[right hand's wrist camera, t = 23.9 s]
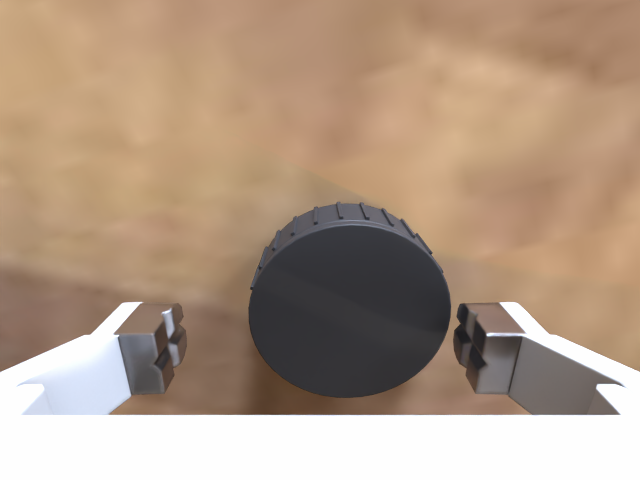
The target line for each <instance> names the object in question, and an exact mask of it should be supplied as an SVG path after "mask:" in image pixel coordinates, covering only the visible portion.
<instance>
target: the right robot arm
mask: <svg viewBox="0 0 640 480" xmlns="http://www.w3.org/2000/svg"><path fill="white" fill-rule="evenodd" d="M182 318H183V312H182V307H181V306H180V304H179V303H145V302H144V303H142V302H127V303H122V304H121V305H120V306H119V307H118V308H117V309H116V310H115V311H114V312H113V313H112V314H111V315H110V316H109V317H108V318H107V319H106V320H105V321H104V322H103V323H102V324H101V325H100V326H99V327H98V328H97V329H96V330H95V331H94V332H93V333H92V334H91V335H84V336H82V337H79V338H77V339H75V340H72V341H70V342H68V343H66V344H63V345H61V346H59V347H57V348H54V349H52V350H50V351H47V352H45V353H43V354H41V355H38V356H36V357H34V358H32V359H29V360H27V361H25V362H22V363H20V364H18V365H16V366H13V367H11V368H9V369H7V370H4V371H2V372H0V480H640V372H638V371H636V370H633V369H631V368H629V367H626V366H624V365H622V364H620V363H617V362H615V361H613V360H611V359H608V358H606V357H604V356H602V355H599V354H597V353H595V352H593V351H590V350H588V349H586V348H583V347H581V346H579V345H577V344H574V343H572V342H570V341H568V340H565V339H563V338H561V337H559V336H556V335H549V334H548V333H547V332H546V331H545V330H544V329H543V328H542V327H541V326H540V325H539V324H538V323H537V322H536V321H535V320H534V319H533V318H532V317H531V316H530V315H529V314H528V313H527V312H526V311H525V310H524V309H523V308H522V307H521V306H520V305H519V304H518V303H515V302H503V303H464V304H460V305H459V308H458V311H457V318H458V320H459V322H460V323H461V324H460V325H459V326H458V327H457V328H456V329H455V330H454V338H453V344H454V352H455V355H456V358H457V360H458V362H459V364H461V365H462V366H464V367H465V368H467V370H466V377H467V379H468V381H469V383H470V384H471V386H472V388H473V390H474V392H475V394H503V395H509V397H510V398H512V399H513V400H514V401H515V402H517V403H518V404H519V405H520V406H522V407H523V408H524V409H526V410H527V411H528V412H529V413H531V414H532V415H108V414H109V413H111V412H112V411H113V410H115V409H116V408H117V407H118V406H120V405H121V404H122V403H124V402H125V401H126V400H127V399H129V398H130V397H131V395H136V394H165V392H166V390H167V388H168V386H169V385H170V383H171V381H172V379H173V377H174V370H173V368H175V367H176V366H178V365H180V364H181V362H182V360H183V358H184V356H185V351H186V347H187V336H186V330H185V329H184V328H183V327H182V326H181V325H180V324H179V323H180V322H181V320H182Z"/></svg>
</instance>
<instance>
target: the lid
mask: <svg viewBox="0 0 640 480" xmlns="http://www.w3.org/2000/svg"><path fill="white" fill-rule="evenodd" d="M431 254H432V252H431V250H430V249H429V248H428V246H427V245H426V244H425V242H424V241H423V240H422V238H421V237H420V236H419V235H418V233H416V234H414V233H413V232H412V230H411V229H410V228H409V226H408V225H407V224H406V222H405V221H404V220H403V219H401V220H399V219H397V218H396V217H394V216H393V215H391V214H389V213H387V211H386V210H385V209H383V208H382V210H380V209H377V208H374V207H370V206H365V205H364V204H363V203H360V204H340V202H337V204H335V205H329V206H324V207H320V208H318V207H314V210H312V211H309V212H307V213H305V214H303V215H301V216H299V217H298V218H297V216H295V217H294V218H293V221H292V222H290V223H289V224H288V225H287V226H285V227H284V228H283V229H282V230H281V231H280V230H278V231H277V233H276V236H275V238H274V239H273V241H272V242H271V244H270V245H269V247H265V249H264V252H263V255H262V258H261V261H260V264H259V265H258V268H257V270H256V273H255V276H254V279H253V282H252V285H251V288H250V289H251V290H252V294H251V297H250V303H249V324H250V330H251V334H252V337H253V340H254V343H255V345H256V347H257V349H258V351H259V353H260V354H261V356H262V357H263V358H264V360H265V361H266V363H267V364H268V365H269V366H270V367H271V368H272V369H273V370H274V371H275V372H276V373H277V374H279V375H280V376H281V377H282V378H284V379H285V380H287V381H288V382H290V383H291V384H293V385H295V386H297V387H299V388H301V389H303V390H306V391H309V392H312V393H315V394H319V395H324V396H330V397H339V398H353V397H363V396H369V395H374V394H377V393H381V392H384V391H387V390H389V389H392V388H394V387H396V386H398V385H400V384H402V383H404V382H406V381H407V380H409V379H410V378H412V377H413V376H415V375H416V374H417V373H418V372H420V371H421V370H422V369H423V368H424V367H425V366H426V365H427V364H428V363H429V362H430V361H431V360H432V358H433V357H434V356H435V354H436V353H437V351H438V350H439V348H440V346H441V344H442V342H443V341H444V338H445V336H446V333H447V330H448V326H449V321H450V314H451V301H450V293H449V289H448V286H447V282H446V280H445V278H444V275H443V270H442V269H441V267H440V266H439V265H438V263H437V262H436V261H435V259H434V258H433V257H432V255H431Z"/></svg>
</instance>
